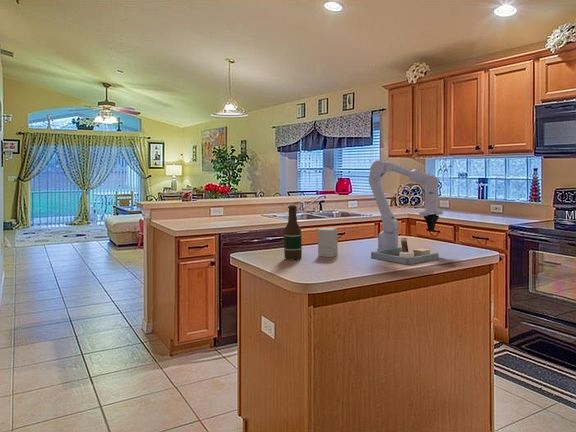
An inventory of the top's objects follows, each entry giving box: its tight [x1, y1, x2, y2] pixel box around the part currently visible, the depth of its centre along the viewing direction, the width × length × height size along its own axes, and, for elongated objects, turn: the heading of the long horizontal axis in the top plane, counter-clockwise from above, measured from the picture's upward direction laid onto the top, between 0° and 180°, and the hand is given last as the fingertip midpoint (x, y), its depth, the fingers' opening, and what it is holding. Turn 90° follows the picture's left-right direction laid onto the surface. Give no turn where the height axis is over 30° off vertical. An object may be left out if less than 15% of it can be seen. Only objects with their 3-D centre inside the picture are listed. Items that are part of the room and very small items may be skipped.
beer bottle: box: [283, 204, 303, 260], centre depth 210 cm, size 8×8×24 cm
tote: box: [370, 246, 440, 265], centre depth 208 cm, size 21×20×2 cm
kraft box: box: [413, 247, 431, 257], centre depth 207 cm, size 5×5×4 cm
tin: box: [400, 237, 410, 252], centre depth 209 cm, size 15×3×8 cm, turn 167°
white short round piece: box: [399, 251, 414, 258], centre depth 199 cm, size 6×6×4 cm
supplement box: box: [317, 227, 339, 258], centre depth 216 cm, size 7×7×13 cm
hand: (431, 230), depth 220 cm, fingers closed
